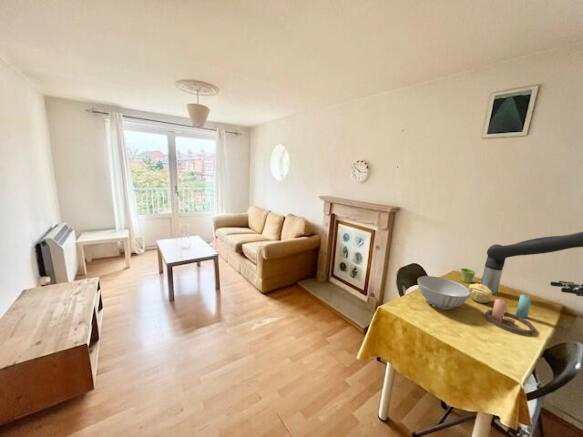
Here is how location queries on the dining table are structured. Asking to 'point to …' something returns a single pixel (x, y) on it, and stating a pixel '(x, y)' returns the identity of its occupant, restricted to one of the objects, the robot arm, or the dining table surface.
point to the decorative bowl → (443, 292)
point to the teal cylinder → (523, 306)
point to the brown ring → (511, 323)
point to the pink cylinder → (499, 310)
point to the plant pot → (467, 275)
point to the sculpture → (480, 293)
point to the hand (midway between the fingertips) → (556, 286)
